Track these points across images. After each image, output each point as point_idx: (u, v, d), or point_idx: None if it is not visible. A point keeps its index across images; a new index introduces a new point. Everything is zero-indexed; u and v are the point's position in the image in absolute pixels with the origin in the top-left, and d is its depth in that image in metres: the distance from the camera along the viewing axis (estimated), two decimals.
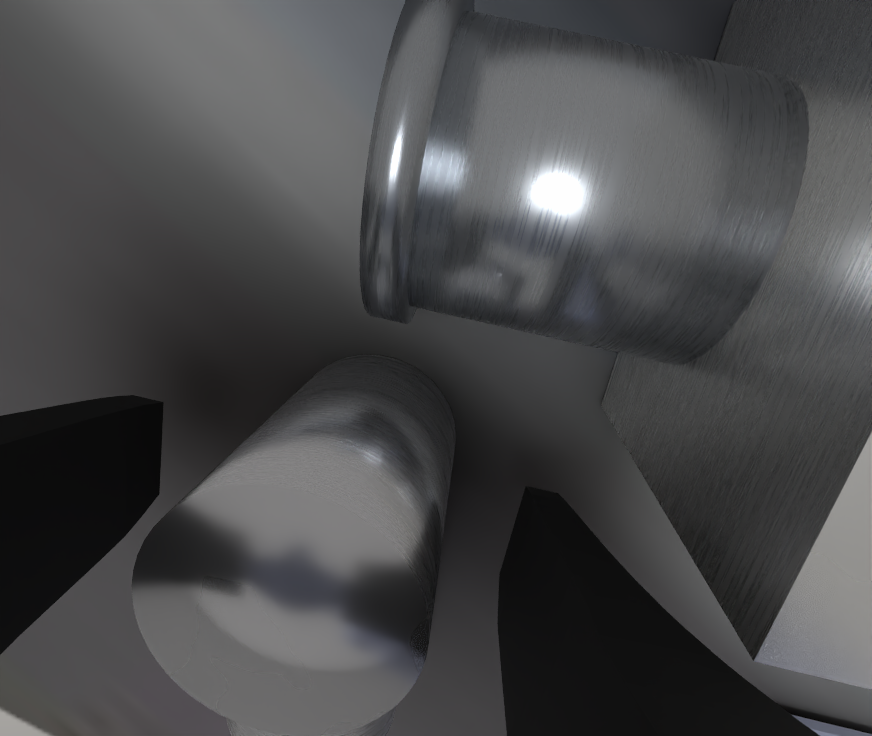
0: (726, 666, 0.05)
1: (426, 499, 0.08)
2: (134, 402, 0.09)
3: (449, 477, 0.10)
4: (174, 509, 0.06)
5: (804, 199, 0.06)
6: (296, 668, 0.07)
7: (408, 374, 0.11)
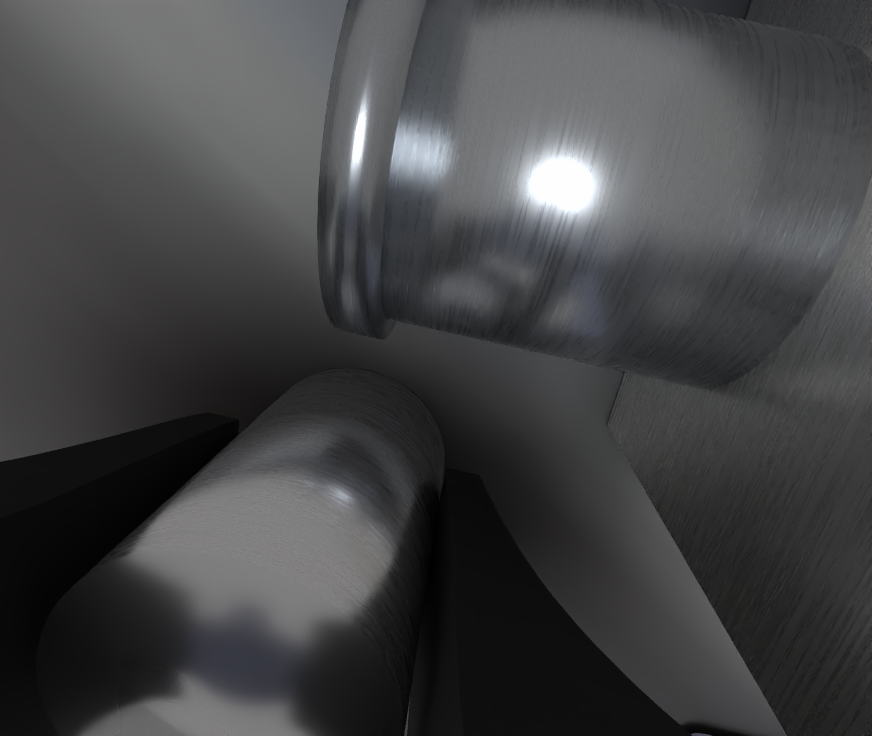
0: (580, 632, 0.05)
1: (404, 550, 0.07)
2: (215, 421, 0.09)
3: (435, 511, 0.09)
4: (81, 580, 0.05)
5: None
6: None
7: (390, 391, 0.10)
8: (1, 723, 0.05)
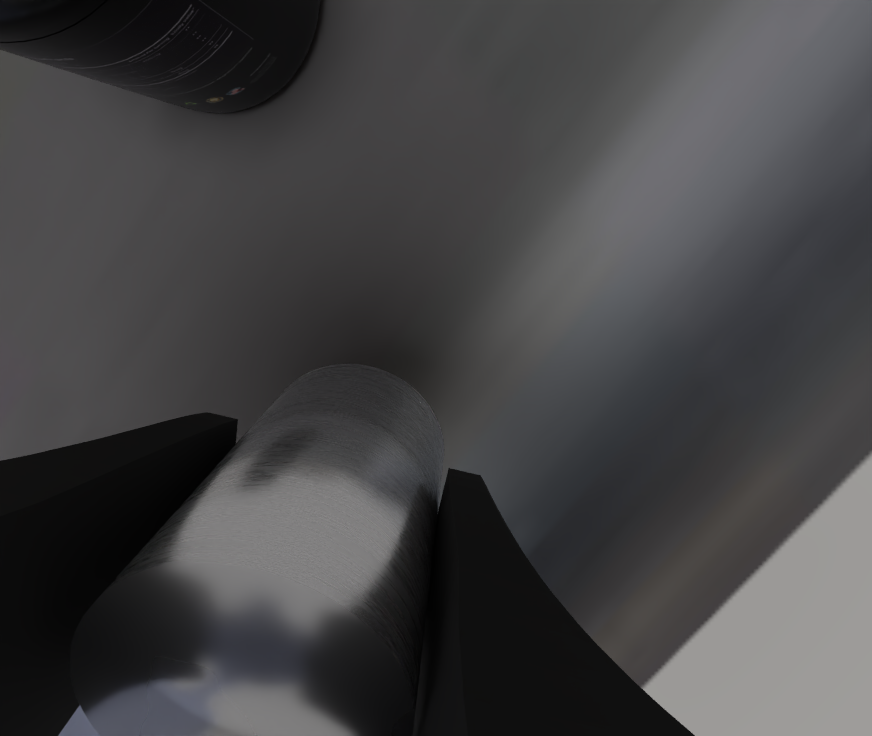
0: (583, 632, 0.05)
1: (414, 555, 0.07)
2: (213, 421, 0.09)
3: (437, 510, 0.09)
4: (118, 586, 0.05)
5: None
6: None
7: (396, 390, 0.10)
8: None
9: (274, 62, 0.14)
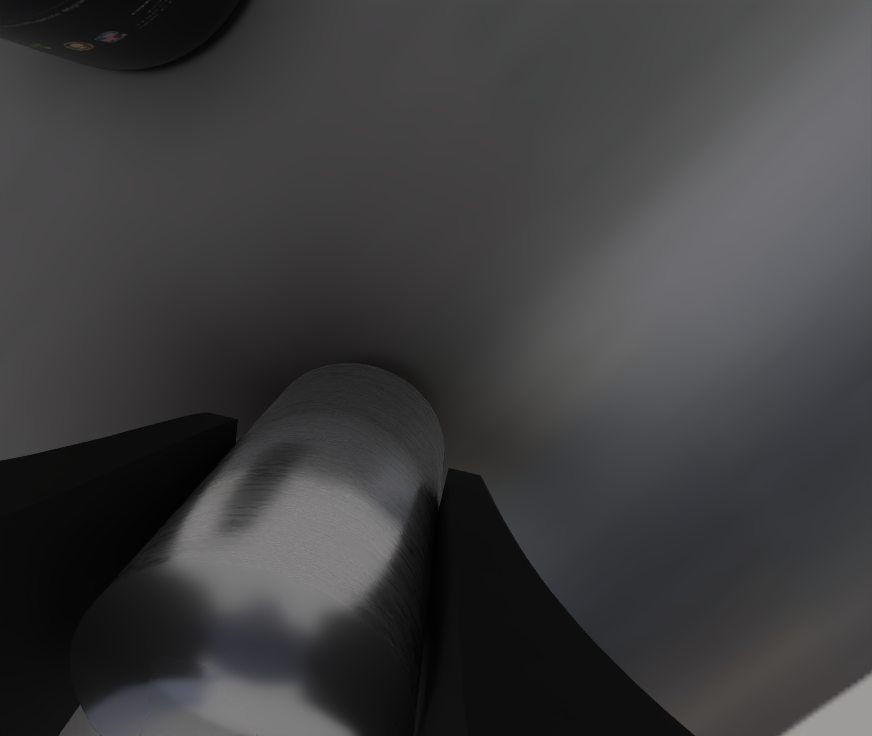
0: (583, 632, 0.05)
1: (414, 554, 0.07)
2: (213, 420, 0.09)
3: None
4: (118, 585, 0.05)
5: None
6: None
7: (396, 389, 0.10)
8: None
9: None
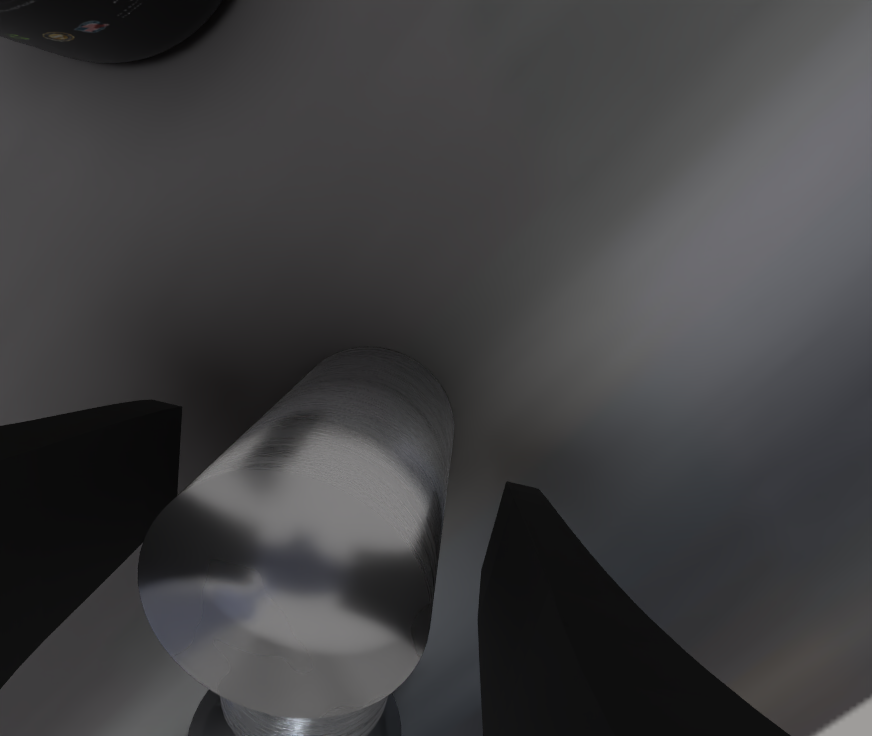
0: (690, 658, 0.05)
1: (428, 489, 0.08)
2: (154, 407, 0.09)
3: (448, 470, 0.10)
4: (183, 493, 0.06)
5: None
6: (298, 651, 0.07)
7: (409, 368, 0.11)
8: None
9: None
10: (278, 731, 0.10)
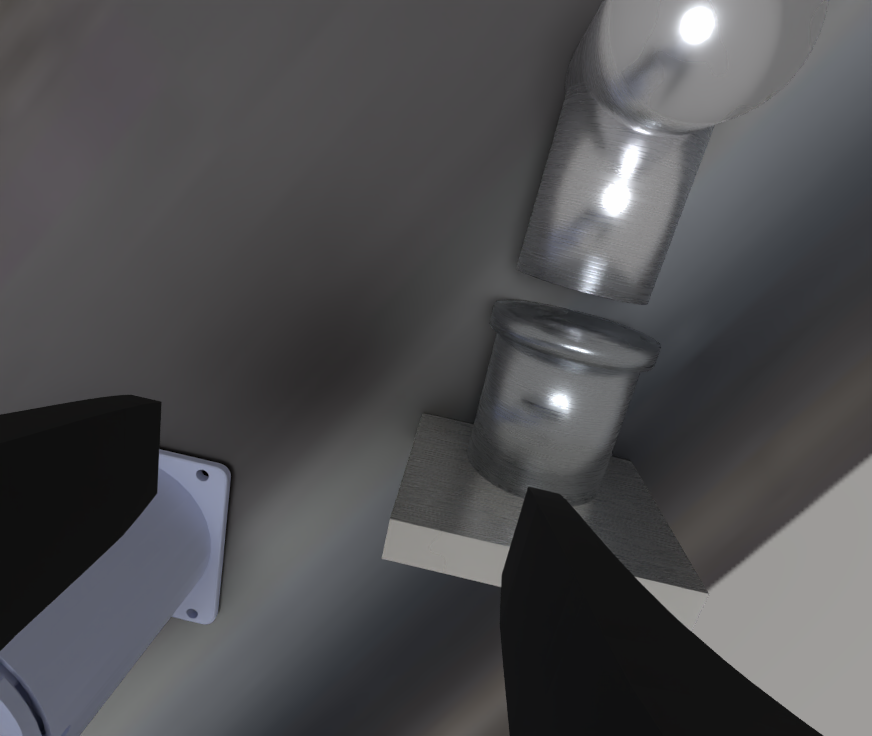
0: (730, 667, 0.05)
1: None
2: (132, 402, 0.09)
3: None
4: None
5: None
6: (720, 55, 0.10)
7: None
8: None
9: None
10: (600, 263, 0.13)
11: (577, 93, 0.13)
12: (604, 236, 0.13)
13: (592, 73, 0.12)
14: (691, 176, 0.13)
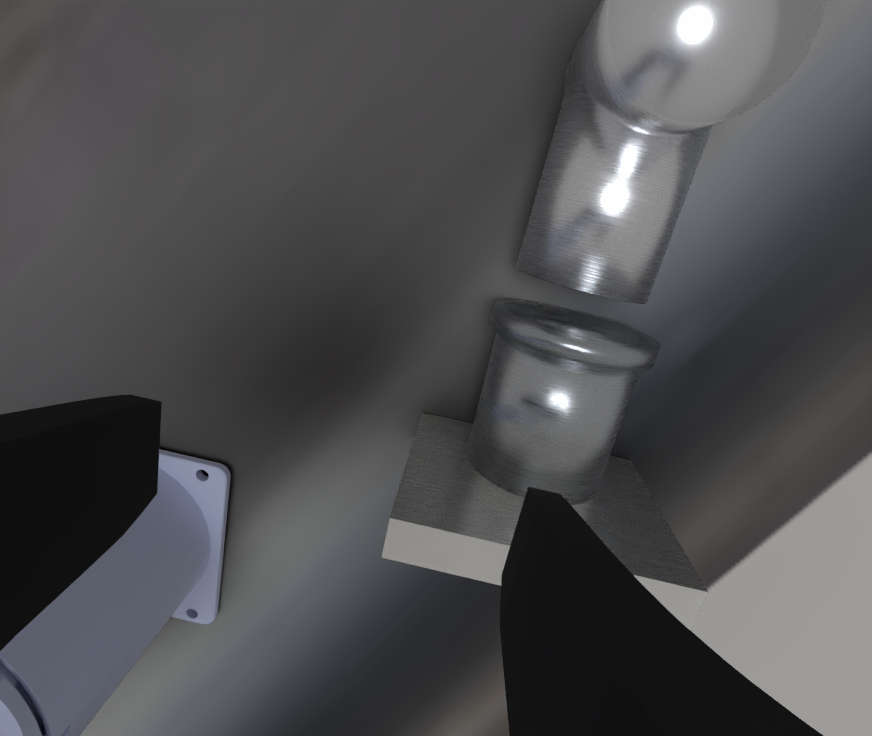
0: (730, 667, 0.05)
1: None
2: (132, 402, 0.09)
3: None
4: None
5: None
6: (717, 54, 0.10)
7: None
8: None
9: None
10: (600, 262, 0.13)
11: (576, 93, 0.13)
12: (603, 234, 0.13)
13: (590, 73, 0.12)
14: (689, 175, 0.13)
